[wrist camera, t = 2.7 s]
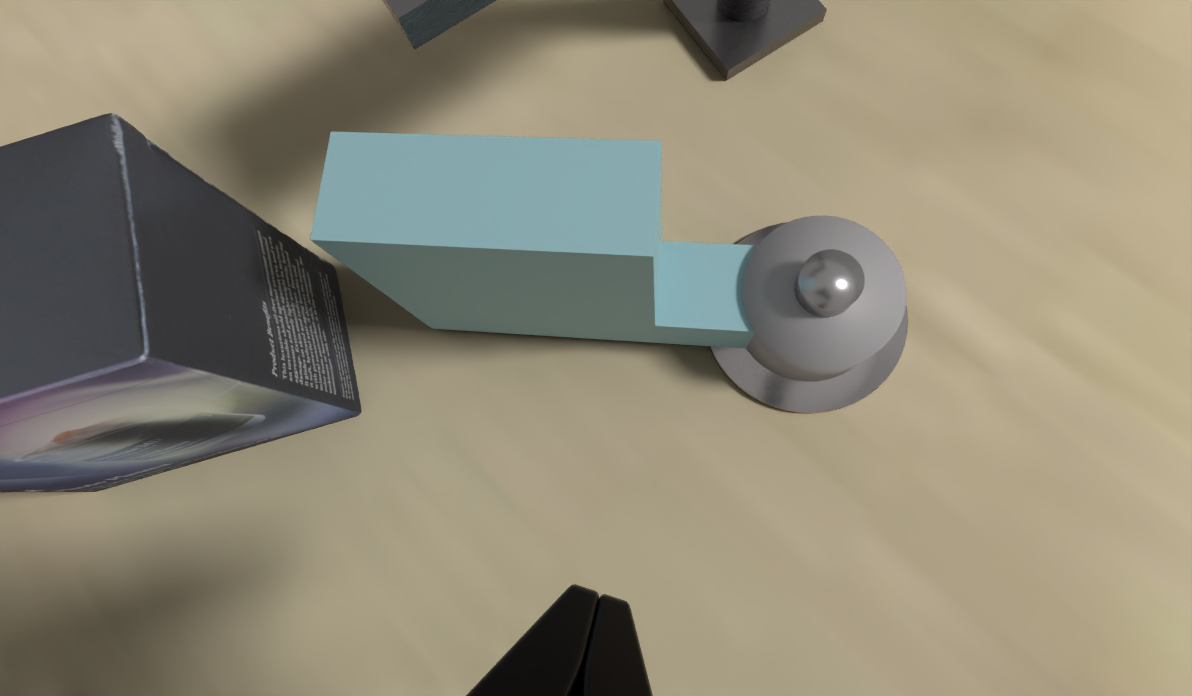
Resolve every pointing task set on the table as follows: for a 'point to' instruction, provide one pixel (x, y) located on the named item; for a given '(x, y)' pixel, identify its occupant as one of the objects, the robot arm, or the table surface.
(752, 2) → the keeper
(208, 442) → the small box
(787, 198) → the table surface
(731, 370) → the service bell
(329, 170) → the link
